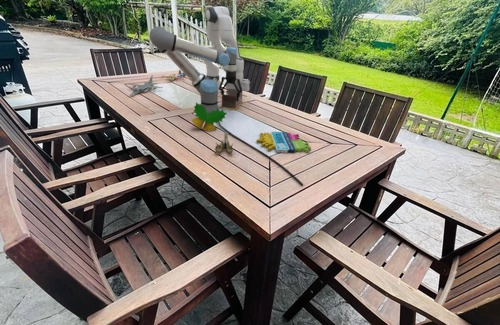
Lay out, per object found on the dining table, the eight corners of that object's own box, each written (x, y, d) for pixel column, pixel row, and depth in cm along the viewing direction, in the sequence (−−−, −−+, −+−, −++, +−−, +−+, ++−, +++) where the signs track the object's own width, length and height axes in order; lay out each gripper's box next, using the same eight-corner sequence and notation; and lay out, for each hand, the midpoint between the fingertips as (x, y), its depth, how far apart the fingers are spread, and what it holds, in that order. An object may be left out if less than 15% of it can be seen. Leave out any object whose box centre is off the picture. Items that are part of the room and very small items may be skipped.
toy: (194, 71, 288) (181, 75, 262) (194, 77, 291) (182, 82, 265) (171, 68, 293) (156, 72, 267) (171, 75, 296) (157, 79, 270)
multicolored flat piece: (313, 150, 142) (258, 149, 139) (312, 153, 143) (258, 152, 140) (301, 132, 164) (254, 130, 161) (301, 134, 165) (254, 133, 162)
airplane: (123, 86, 237) (121, 75, 232) (158, 84, 251) (157, 74, 246) (127, 99, 209) (125, 86, 204) (167, 96, 222) (166, 84, 217)
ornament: (218, 133, 171) (224, 110, 169) (221, 134, 163) (227, 111, 161) (186, 125, 162) (192, 101, 160) (189, 126, 155) (195, 101, 153)
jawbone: (234, 135, 144) (233, 125, 135) (233, 160, 138) (232, 151, 129) (217, 135, 144) (216, 125, 135) (216, 160, 138) (214, 150, 129)
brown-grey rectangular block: (229, 101, 219) (229, 88, 214) (241, 103, 217) (242, 90, 212) (221, 108, 202) (221, 94, 197) (235, 109, 200) (235, 96, 195)
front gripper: (247, 71, 192) (246, 100, 203) (217, 68, 196) (217, 97, 207) (245, 73, 186) (243, 103, 197) (214, 69, 190) (214, 99, 201)
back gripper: (251, 79, 214) (250, 95, 221) (227, 76, 218) (226, 93, 224) (249, 80, 209) (248, 97, 215) (224, 77, 212) (224, 94, 219)
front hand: (230, 100), depth 202 cm, fingers closed on brown-grey rectangular block, 11 cm apart
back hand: (237, 95), depth 220 cm, fingers closed
